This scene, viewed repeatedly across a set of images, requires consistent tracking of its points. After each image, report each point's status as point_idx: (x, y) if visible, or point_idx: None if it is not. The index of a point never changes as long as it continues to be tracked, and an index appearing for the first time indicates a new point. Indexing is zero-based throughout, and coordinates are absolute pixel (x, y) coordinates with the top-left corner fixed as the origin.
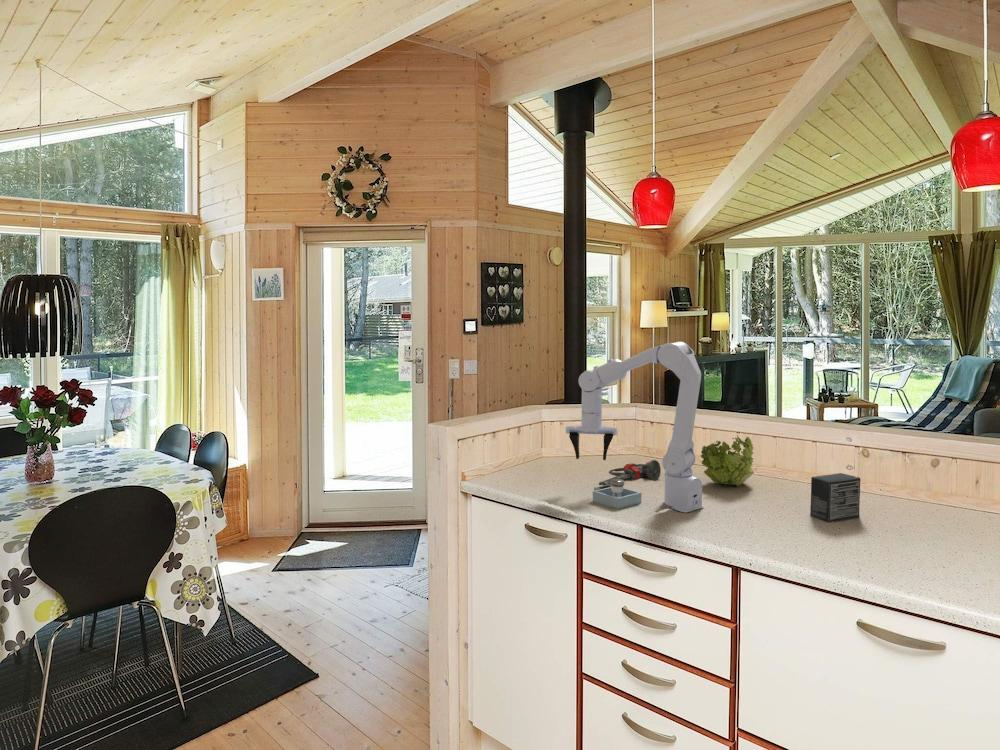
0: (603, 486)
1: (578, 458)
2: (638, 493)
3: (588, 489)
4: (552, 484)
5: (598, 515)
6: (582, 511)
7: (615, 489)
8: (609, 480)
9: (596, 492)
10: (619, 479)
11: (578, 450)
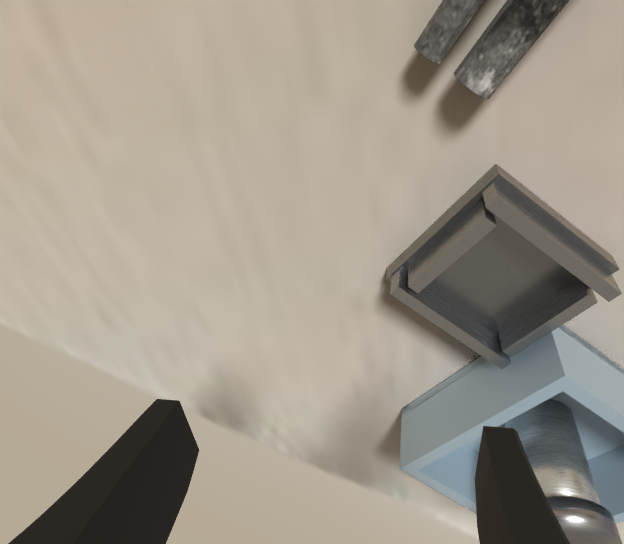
0: (461, 253)
1: (197, 455)
2: None
3: (334, 151)
4: (34, 75)
5: (438, 512)
6: (368, 482)
7: None
8: (532, 13)
9: (421, 480)
10: (591, 526)
11: (148, 523)
